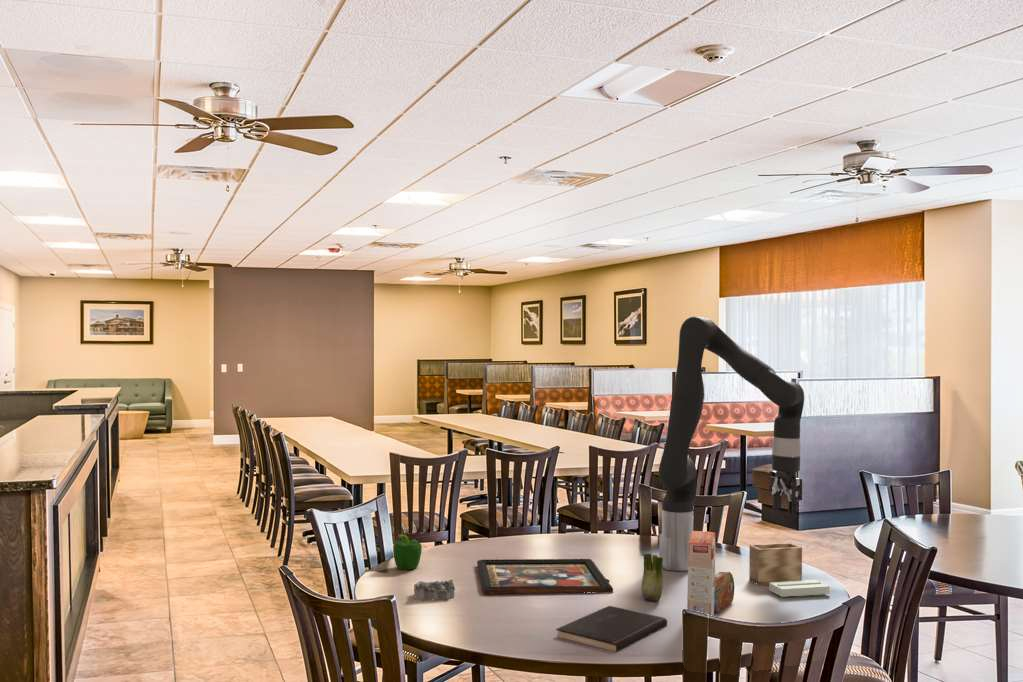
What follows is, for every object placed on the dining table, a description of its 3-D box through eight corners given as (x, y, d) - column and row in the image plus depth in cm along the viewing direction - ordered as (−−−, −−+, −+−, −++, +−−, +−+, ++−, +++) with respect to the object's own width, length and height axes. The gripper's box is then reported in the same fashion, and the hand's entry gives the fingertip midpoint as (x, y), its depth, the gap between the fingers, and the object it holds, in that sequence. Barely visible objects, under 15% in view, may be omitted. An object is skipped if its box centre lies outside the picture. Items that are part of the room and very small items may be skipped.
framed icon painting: (486, 601, 229) (486, 590, 229) (465, 568, 263) (465, 559, 263) (625, 595, 236) (625, 584, 236) (587, 564, 271) (587, 555, 271)
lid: (781, 599, 231) (781, 588, 231) (769, 592, 237) (769, 581, 238) (829, 596, 234) (829, 585, 234) (815, 590, 241) (815, 578, 241)
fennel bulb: (665, 602, 227) (665, 555, 227) (648, 603, 226) (648, 557, 226) (654, 596, 233) (655, 550, 233) (638, 597, 231) (638, 552, 231)
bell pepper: (424, 565, 264) (424, 531, 264) (418, 572, 256) (418, 537, 256) (396, 564, 265) (396, 530, 265) (390, 571, 257) (390, 536, 257)
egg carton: (414, 602, 227) (414, 586, 227) (413, 594, 234) (413, 578, 234) (455, 600, 228) (455, 584, 228) (453, 592, 236) (453, 577, 236)
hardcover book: (556, 638, 200) (556, 628, 200) (609, 614, 218) (609, 605, 218) (616, 654, 190) (616, 644, 190) (667, 628, 208) (667, 618, 208)
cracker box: (712, 634, 202) (713, 543, 202) (686, 632, 204) (686, 541, 204) (715, 616, 215) (716, 531, 216) (690, 614, 217) (691, 529, 217)
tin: (714, 616, 216) (714, 582, 216) (702, 614, 218) (702, 580, 218) (735, 601, 228) (735, 569, 228) (723, 599, 230) (724, 567, 230)
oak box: (759, 585, 244) (759, 549, 244) (749, 580, 249) (749, 544, 249) (801, 583, 247) (802, 547, 247) (790, 577, 252) (791, 542, 252)
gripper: (761, 450, 251) (759, 506, 251) (786, 457, 237) (784, 517, 237) (785, 450, 252) (784, 506, 252) (812, 457, 238) (810, 517, 238)
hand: (784, 511), depth 245 cm, fingers open, 8 cm apart
